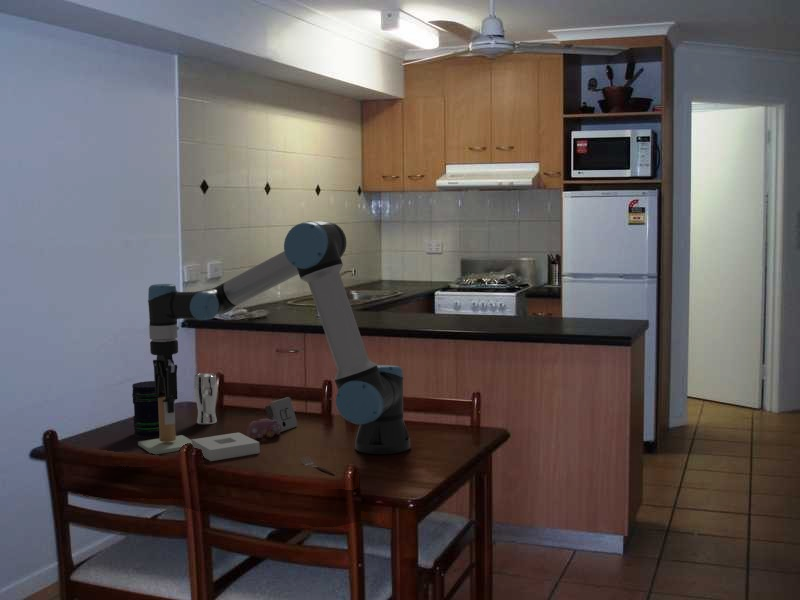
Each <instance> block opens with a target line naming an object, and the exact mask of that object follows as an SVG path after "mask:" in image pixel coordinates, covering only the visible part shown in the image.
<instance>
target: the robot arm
mask: <svg viewBox="0 0 800 600" xmlns="http://www.w3.org/2000/svg"><path fill="white" fill-rule="evenodd" d="M346 249H347V237H346V234H345V232H344V230H343V229H342V228H341V227H340V225H338V224H336V223H335V222H332V221H328V220H327V221H326V220H322V221H321V220H320V221H313V220H307V221H304V222H300V223H298V224H296V225H294V226H292V228H290V230H289V231H288V232H287V234H286V236H285V238H284V243H283V251H282V252H280V253H278V254H276V255H274V256H272V257H270V258H269V259H266V260H265V261H263V262H260V263H259V264H257V265H254V266H252V267H251V268H249V269H247V270H245V271H244V272H241V273H239V274H238V275H236V276H234V277H232V278H230V279H228V280H226V281H225V282H223V283H221V284H219V285H217V286H214V287H213V288H212V287H211V288H210V289H203V290H202V289H201V290H198V291H178V290H177V286H176V285H175V284H173V283H157V284H156V283H155V284H151V285H150V286H149V287H148V294H147V295H148V296H147V297H148V298H147V299H148V300H147V302H148V303H147V305H148V319H149V326H148V327H149V328H148V329H149V333H148V334H149V339H150V340H151V341H150V342H149V346H150V348H149V349H150V354H151V355H153V356H156V359H152V364H153V376H154V380H153V381H155V394H157V397H158V398H159V397H163V396H165V400H163V402H164V412H165V425H169V424H175V425H176V408H175V407H176V406H175V401H177V400H178V375H177V374H178V365H177V364H175V362H174V361H175V360H173V355H176V354H177V353H179V340H178V339H177V338H178V337H179V336H178V331H179V330H180V327H179V326H178V320H180V319H181V320H182V319H183V320H198V321H203V320H204V321H205V320H212V319H214V318H215V317H216V316H217V315H223V314H226V313H229V312H231V311H232V310H234V308H236V307H237V306H238V305H240V304H243V303H245V302H246V301H248V300H250V299H253V298H254V297H256V296H259V295H261V294H262V293H264V292H266V291H268V290H270V289H272V288H274V287H277V286H279V285H280V284H282V283H284V282H286V281H288V280H290V279H291V278H292V279H293V278H294V277H296V276H299V278H300V280H301V281H304V282H306V283H307V284H308V287H309V290H310V291H311V292H310V293H311V295H312V298H313V301H314V305H315V308H316V310H317V313H318V316H319V319H320V322H321V325H322V328H323V330H324V334H325V337H326V340H327V344H328V345H329V349H330V352H331V355H332V358H333V361H334V364H335V367H336V369H337V372H336V374H335V375H334V381H335V382H334V383H335V385H336V389H337V392H336V395H335V396H336V397H335V405H336V408H337V411H338V413H339V415H341V417H343V418H344V419H345V420H346V421H347V422H350V423H352V424H353V425H354V424H355V425H359V427H358V429H357V434H356V437H355V441H354V445H355V446H354V447H355V450H356V451H357V452H359V453H363V454H367V455H368V454H370V455H392V454H393V455H394V454H399V453H404V452H406V451H408V450H409V449H410V448H411V439H410V436H409V433H408V429H407V427H406V423H405V421H404V375H403V369H402V367H401V366H398V365H388V364H377V363H376V362H373V361H371V360H370V358H369V356H368V353H367V351H366V348H365V345H364V344H365V343H364V341H363V339H362V336H361V333H360V330H359V327H358V324H357V321H356V318H355V315H354V312H353V309H352V306H351V303H350V301H349V297H348V295H347V290H346V289H345V288H346V287H345V286H344V282H343V280H342V277H341V274H340V273H341V271H342V268H343V266H344V265H343V264H344V263H343V261H342V257H343V255H344V254H345V252H346Z"/></svg>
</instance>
